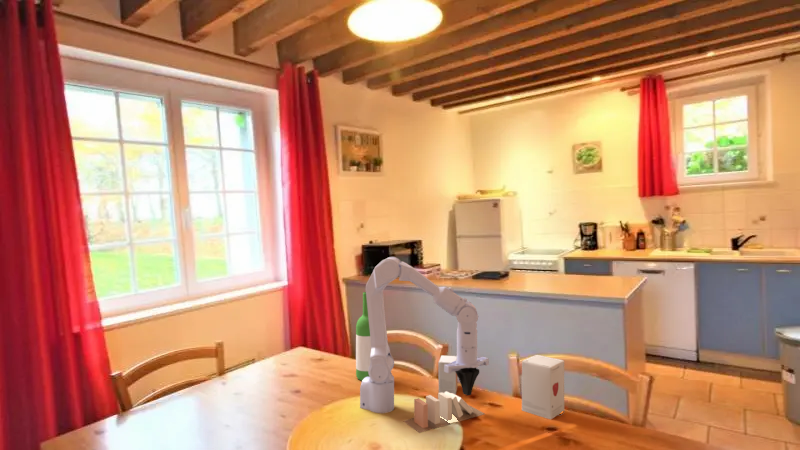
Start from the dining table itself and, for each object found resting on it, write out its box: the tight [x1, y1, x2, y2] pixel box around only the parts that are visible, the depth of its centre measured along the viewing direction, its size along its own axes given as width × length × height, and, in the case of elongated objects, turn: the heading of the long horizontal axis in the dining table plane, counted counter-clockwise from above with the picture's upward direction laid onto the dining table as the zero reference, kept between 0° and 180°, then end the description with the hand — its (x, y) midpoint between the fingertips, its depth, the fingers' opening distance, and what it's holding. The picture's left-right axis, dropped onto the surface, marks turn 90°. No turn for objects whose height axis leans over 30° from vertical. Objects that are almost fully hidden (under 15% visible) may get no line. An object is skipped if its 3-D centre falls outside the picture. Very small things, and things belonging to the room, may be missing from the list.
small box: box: [437, 355, 459, 395], centre depth 141 cm, size 8×6×10 cm
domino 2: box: [425, 394, 440, 424], centre depth 118 cm, size 1×4×6 cm, turn 31°
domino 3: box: [437, 392, 452, 421], centre depth 120 cm, size 1×4×6 cm, turn 30°
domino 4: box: [444, 391, 463, 418], centre depth 121 cm, size 1×4×6 cm, turn 31°
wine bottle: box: [355, 291, 371, 382], centre depth 154 cm, size 8×8×30 cm
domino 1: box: [413, 398, 428, 428], centre depth 116 cm, size 1×4×6 cm, turn 30°
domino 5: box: [451, 393, 473, 414], centre depth 123 cm, size 1×4×6 cm
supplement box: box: [521, 354, 565, 420], centre depth 125 cm, size 9×9×15 cm
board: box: [402, 404, 486, 434], centre depth 120 cm, size 22×8×1 cm, turn 121°
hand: (467, 394), depth 124 cm, fingers closed
